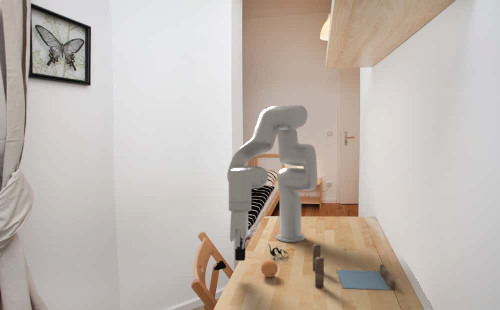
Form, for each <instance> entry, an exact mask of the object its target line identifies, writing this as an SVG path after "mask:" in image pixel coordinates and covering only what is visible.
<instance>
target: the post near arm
mask: <svg viewBox="0 0 500 310" xmlns="http://www.w3.org/2000/svg"><path fill="white" fill-rule="evenodd" d="M316 257H321V244H319V243H314V244H312V272H314V273H315V258H316Z"/></svg>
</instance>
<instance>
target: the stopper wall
mask: <svg viewBox="0 0 500 310" xmlns="http://www.w3.org/2000/svg"><path fill="white" fill-rule="evenodd" d="M379 266H380V267H379V273H380V274H381V276H382V278H383V279H384V281H385V283H386V284H387V286H388V287H389V289H390V291H395V290H396V282H395V280H394V278H393V277H392V276H391V273H390V272H388V269H387V268H386V267H385V265H384V264H379Z"/></svg>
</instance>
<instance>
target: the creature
mask: <svg viewBox="0 0 500 310" xmlns="http://www.w3.org/2000/svg"><path fill="white" fill-rule="evenodd" d="M268 246H269V253H270V255H271V256H272V257H276V260H278V259H280V257H278V256H281V258H282V259H286V260H287V258H285V257H284V256H283V254H282V252H283V253H284V254H287V255H289V253H288V252H287V251H285V249H283V248H280V247H279V246H277V245H276V247H273V248H272V249H271V247H272V246H271V245H270V244H269V243H268ZM276 253H278V254H276Z"/></svg>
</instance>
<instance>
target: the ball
mask: <svg viewBox="0 0 500 310" xmlns="http://www.w3.org/2000/svg"><path fill="white" fill-rule="evenodd" d="M278 268H279V267H278V264H277V263H276V262H275V261H274V260H272V259H266V260H265V261H264V262H262V264H261V267H260V270H261V272H262V275H264V277H267V278H272V277H275V275H277V273H278Z"/></svg>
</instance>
